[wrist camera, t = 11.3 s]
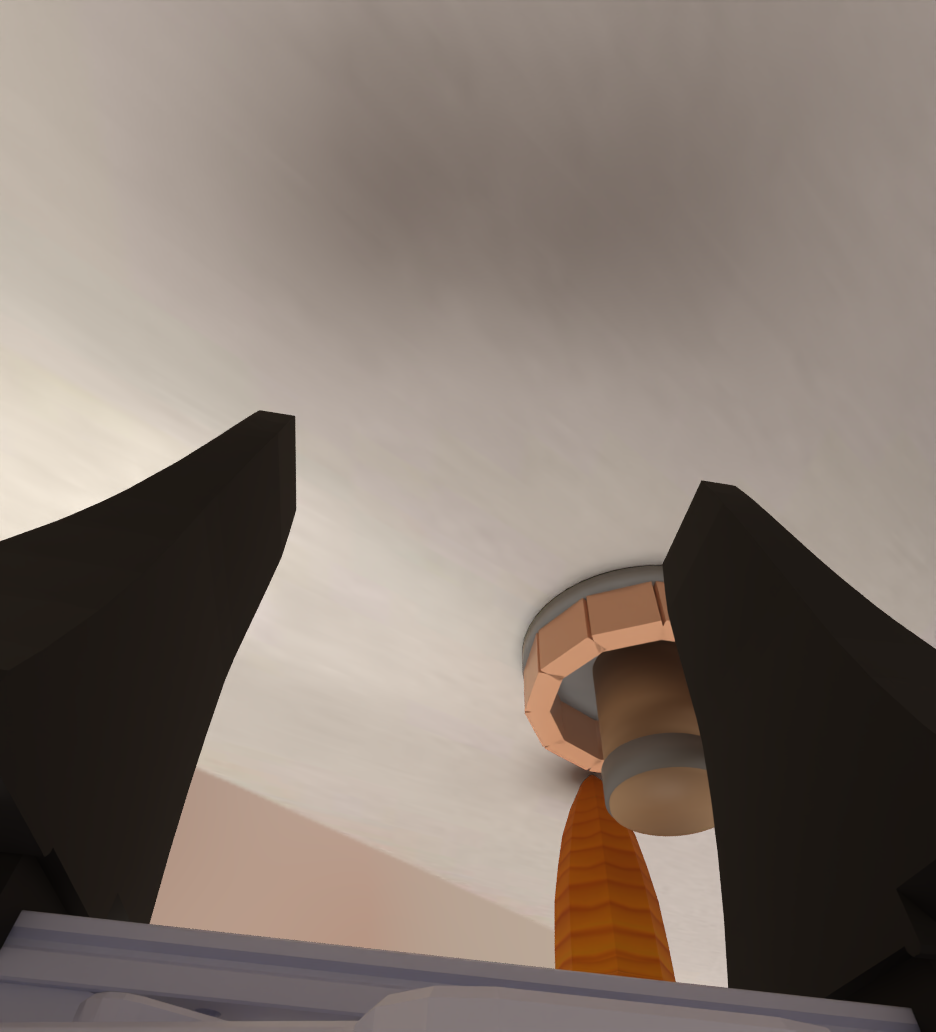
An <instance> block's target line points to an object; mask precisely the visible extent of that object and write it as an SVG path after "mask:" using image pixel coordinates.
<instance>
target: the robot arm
mask: <svg viewBox="0 0 936 1032" xmlns="http://www.w3.org/2000/svg"><path fill="white" fill-rule="evenodd" d="M295 512H296V447H295V416H292V415H286V414H280V413H273V412H267V411H261V410H259V411H257V412H256V413H254V414H252V415H251V416H249V417H247V418H246V419H244V420H243V421H241V422H239V423H238V424H236V425H235V426H233V427H232V428H230V429H229V430H227V431H226V432H224V433H223V434H221V435H219V436H218V437H216V438H215V439H213V440H212V441H210V442H208V443H207V444H205V445H204V446H202V447H200V448H199V449H197V450H196V451H194V452H192V453H191V454H189V455H188V456H186V457H184V458H183V459H181V460H179V461H178V462H176V463H174V464H172V465H171V466H169V467H167V468H165V469H163V470H161V471H160V472H158V473H156V474H154V475H152V476H151V477H149V478H147V479H145V480H143V481H142V482H140V483H138V484H136V485H134V486H133V487H131V488H129V489H127V490H125V491H123V492H121V493H119V494H117V495H115V496H113V497H110V498H108V499H106V500H104V501H102V502H100V503H98V504H95V505H93V506H91V507H88V508H86V509H84V510H82V511H79V512H77V513H75V514H72V515H70V516H68V517H65V518H63V519H60V520H58V521H55V522H53V523H50V524H47V525H44V526H41V527H39V528H36V529H33V530H30V531H28V532H25V533H22V534H19V535H16V536H14V537H11V538H8V539H5V540H2V541H0V1032H936V649H935V648H933V647H932V646H930V645H929V644H928V643H926V642H925V641H923V640H922V639H921V638H919V637H918V636H916V635H915V634H913V633H912V632H911V631H909V630H908V629H906V628H905V627H904V626H902V625H901V624H899V623H898V622H896V621H895V620H894V619H892V618H891V617H890V616H888V615H887V614H886V613H884V612H883V611H882V610H880V609H879V608H878V607H876V606H875V605H874V604H873V603H871V602H870V601H869V600H868V599H866V598H865V597H864V596H863V595H862V594H860V593H859V592H858V591H857V590H855V589H854V588H853V587H852V586H850V585H849V584H848V583H847V582H845V581H844V580H843V579H842V578H841V577H839V576H838V575H837V574H836V573H835V572H834V571H832V570H831V569H830V568H829V567H828V566H827V565H825V564H824V563H823V562H822V561H821V560H820V559H819V558H817V557H816V556H815V555H814V554H813V553H812V552H811V551H810V550H808V549H807V548H806V547H805V546H804V545H803V544H802V543H801V542H800V541H798V540H797V539H796V538H795V537H794V536H793V535H792V534H791V533H790V532H788V531H787V530H786V529H785V528H784V527H783V526H782V525H781V524H780V523H779V522H777V521H776V520H775V519H774V518H773V517H772V516H771V515H770V514H769V513H767V512H766V511H765V510H764V509H763V508H762V507H761V506H760V505H758V504H757V503H756V502H755V501H754V500H753V499H751V498H750V497H749V496H748V495H747V494H745V493H744V492H743V491H741V490H740V489H739V488H737V487H736V486H733V485H727V484H721V483H714V482H708V481H701V483H700V485H699V487H698V489H697V492H696V494H695V496H694V498H693V500H692V502H691V504H690V506H689V509H688V511H687V513H686V515H685V517H684V519H683V521H682V524H681V526H680V528H679V530H678V532H677V534H676V536H675V539H674V541H673V543H672V545H671V547H670V549H669V551H668V554H667V556H666V558H665V560H664V562H663V564H662V566H663V577H664V587H665V596H666V603H667V611H668V616H669V620H670V624H671V628H672V631H673V635H674V639H675V643H676V646H677V650H678V654H679V657H680V661H681V665H682V668H683V672H684V675H685V679H686V683H687V686H688V690H689V694H690V697H691V701H692V704H693V708H694V712H695V715H696V719H697V723H698V727H699V732H700V736H701V741H702V745H703V751H704V758H705V764H706V770H707V777H708V783H709V789H710V796H711V803H712V811H713V819H714V827H715V835H716V843H717V850H718V860H719V871H720V881H721V892H722V902H723V913H724V926H725V942H726V958H727V974H728V988H724V987H715V986H706V985H697V984H688V983H678V982H669V981H660V980H651V979H642V978H633V977H624V976H615V975H606V974H597V973H588V972H579V971H570V970H561V969H552V968H542V967H533V966H524V965H514V964H506V963H497V962H488V961H478V960H469V959H461V958H451V957H443V956H434V955H425V954H415V953H406V952H397V951H388V950H379V949H370V948H361V947H352V946H342V945H334V944H325V943H316V942H307V941H298V940H289V939H280V938H270V937H261V936H252V935H242V934H234V933H225V932H216V931H206V930H198V929H189V928H180V927H171V926H162V925H153V924H149V923H150V920H151V916H152V913H153V909H154V906H155V902H156V898H157V895H158V891H159V888H160V884H161V880H162V877H163V873H164V870H165V867H166V863H167V859H168V856H169V852H170V849H171V845H172V842H173V839H174V836H175V832H176V829H177V826H178V823H179V819H180V816H181V813H182V809H183V806H184V803H185V799H186V796H187V793H188V790H189V787H190V783H191V780H192V777H193V774H194V771H195V768H196V765H197V762H198V759H199V756H200V753H201V750H202V746H203V743H204V740H205V737H206V734H207V731H208V728H209V725H210V722H211V719H212V717H213V714H214V711H215V708H216V705H217V702H218V699H219V696H220V693H221V690H222V687H223V684H224V682H225V679H226V677H227V674H228V672H229V669H230V667H231V665H232V662H233V660H234V657H235V655H236V653H237V651H238V649H239V647H240V645H241V643H242V641H243V638H244V636H245V634H246V632H247V630H248V628H249V626H250V624H251V621H252V619H253V617H254V615H255V613H256V611H257V609H258V607H259V605H260V602H261V600H262V598H263V596H264V594H265V592H266V590H267V588H268V585H269V583H270V581H271V579H272V577H273V575H274V572H275V570H276V568H277V566H278V564H279V562H280V559H281V557H282V554H283V551H284V548H285V545H286V542H287V539H288V536H289V532H290V529H291V525H292V522H293V519H294V515H295Z"/></svg>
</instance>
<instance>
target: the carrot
mask: <svg viewBox="0 0 936 1032" xmlns="http://www.w3.org/2000/svg"><path fill="white" fill-rule="evenodd" d="M555 969H561V970H570V971H579V972H588V973H597V974H606V975H615V976H624V977H633V978H642V979H651V980H660V981H669V982H676V981H675V976H674V971H673V966H672V961H671V956H670V951H669V946H668V942H667V938H666V933H665V929H664V924H663V920H662V915H661V911H660V907H659V902H658V899H657V896H656V893H655V890H654V887H653V884H652V881H651V878H650V875H649V872H648V869H647V866H646V863H645V860H644V858H643V855H642V852H641V849H640V847H639V844H638V841H637V839H636V836H635V834H634V832H633V830H630V829H628V828H626V827H624V826H622V825H621V824H619V823H618V822H617V821H616V820H615V819H614V818H613V817H612V816H611V815H610V814H609V813H608V811H607V809H606V805H605V799H604V790H603V782H602V780H600V779H599V778H598V777H596V776H595V775H589V776H588V777H587V778H586V779H585V780H584V781H583V783H582V784H581V786H580V788H579V791H578V793H577V795H576V797H575V800H574V802H573V804H572V807H571V809H570V812H569V815H568V819H567V822H566V825H565V829H564V832H563V836H562V842H561V849H560V857H559V864H558V872H557V883H556V893H555Z"/></svg>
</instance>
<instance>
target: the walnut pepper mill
mask: <svg viewBox="0 0 936 1032" xmlns="http://www.w3.org/2000/svg"><path fill="white" fill-rule="evenodd" d="M593 681H594V688H595V696H596V704H597V712H598V719H599V727H600V735H601V743H602V750H603V758H604V762H603V764H602V768H601V774H602V782H603V790H604V799H605V805H606V809H607V811H608V813H609V814H610V815H611V816H612V817H613V818H614V819H615V820H616V821H617V822H618V823H619V824H621V825H622V826H624V827H626V828H628V829H630V830H633V831H635V832H639V833H643V834H648V835H655V836H681V835H689V834H694V833H698V832H702V831H705V830H708V829H711V828H713V827H714V819H713V811H712V803H711V796H710V789H709V783H708V777H707V770H706V764H705V758H704V751H703V745H702V741H701V736H700V732H699V727H698V723H697V719H696V715H695V712H694V708H693V704H692V701H691V697H690V694H689V690H688V686H687V683H686V679H685V675H684V672H683V668H682V665H681V661H680V657H679V654H678V650H677V646H676V643H675V642H674V641H667V640H658V641H653V642H648V643H644V644H639V645H634V646H629V647H624V648H619V649H614V650H610V651H605V652H602V653H601V654H599V656H598V657H597V658H596V660H595V662H594V665H593Z"/></svg>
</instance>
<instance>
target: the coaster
mask: <svg viewBox="0 0 936 1032" xmlns="http://www.w3.org/2000/svg"><path fill="white" fill-rule="evenodd" d="M658 640H667V641H674V642H675V639H674V635H673V631H672V628H671V624H670V620H669V616H668V611H667V603H666V596H665V587H664V577H663V566H642V567H632V568H627V569H621V570H616V571H612V572H608V573H605V574H601V575H598V576H595V577H593V578H590V579H588V580H585V581H583V582H581V583H579V584H577V585H575V586H573V587H571V588H569V589H567V590H566V591H564V592H563V593H561V594H560V595H558V596H557V597H555V598H554V599H553V600H552V601H551V602H550V603H548V604H547V605H546V606H545V607H544V608H543V609H542V610H541V611H540V613H539V614H538V615H537V616H536V617H535V619H534V620H533V622H532V623H531V625H530V627H529V629H528V631H527V633H526V636H525V639H524V643H523V649H522V664H523V677H524V701H525V714H526V716H527V718H528V720H529V722H530V724H531V725H532V727H533V729H534V731H535V733H536V735H537V737H538V738H539V740H540V742H541V744H542V746H545V749H547V750H549V751H551V752H553V753H555V754H556V755H558V756H560V757H562V758H564V759H566V760H568V761H570V762H572V763H573V764H575V765H577V766H579V767H581V768H583V769H585V770H587V769H589V770H590V771H592V772H600V773H601V768H602V764H603V762H604V758H603V750H602V743H601V735H600V727H599V719H598V712H597V704H596V696H595V688H594V681H593V665H594V662H595V660H596V658H597V657H598V656H599V654H601V653H602V652H605V651H610V650H614V649H619V648H624V647H629V646H634V645H639V644H644V643H648V642H653V641H658Z"/></svg>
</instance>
